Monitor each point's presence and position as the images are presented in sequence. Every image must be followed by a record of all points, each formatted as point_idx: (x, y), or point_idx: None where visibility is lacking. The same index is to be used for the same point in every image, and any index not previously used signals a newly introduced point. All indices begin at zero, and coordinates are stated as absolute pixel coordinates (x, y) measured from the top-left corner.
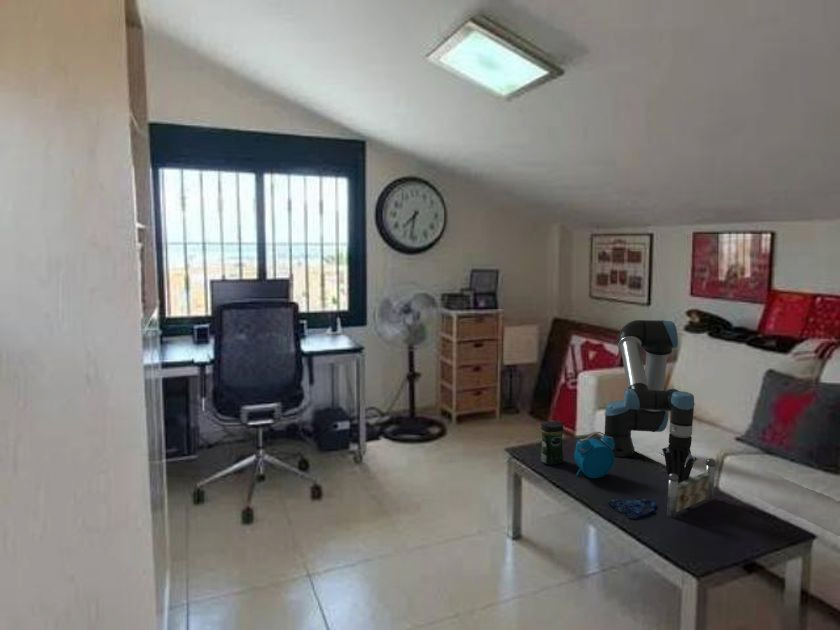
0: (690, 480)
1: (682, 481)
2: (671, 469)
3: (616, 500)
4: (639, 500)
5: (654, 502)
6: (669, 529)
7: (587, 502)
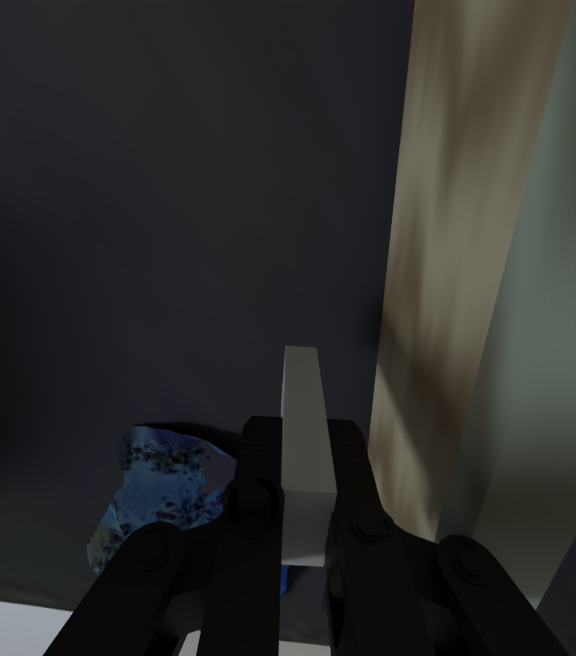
0: (526, 530)
1: (379, 506)
2: (111, 632)
3: (105, 556)
4: (142, 463)
5: (219, 449)
6: None
7: (61, 606)
